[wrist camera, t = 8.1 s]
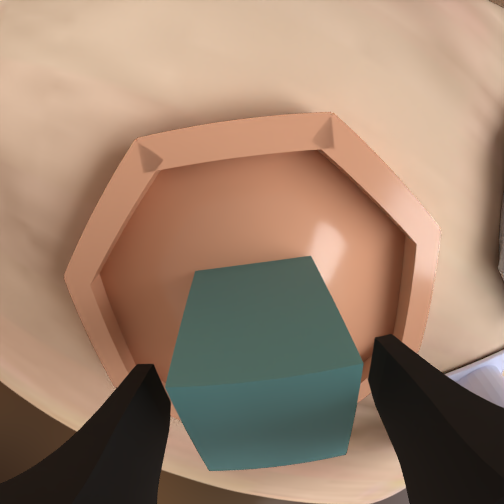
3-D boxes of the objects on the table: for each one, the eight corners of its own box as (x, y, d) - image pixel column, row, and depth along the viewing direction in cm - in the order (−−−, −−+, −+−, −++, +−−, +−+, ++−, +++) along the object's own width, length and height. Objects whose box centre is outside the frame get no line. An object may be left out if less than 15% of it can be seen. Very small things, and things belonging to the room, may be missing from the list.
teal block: (313, 344, 13) (346, 454, 8) (216, 356, 14) (208, 470, 8) (310, 255, 12) (363, 363, 6) (195, 270, 12) (165, 387, 6)
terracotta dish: (392, 384, 16) (402, 404, 15) (150, 413, 16) (145, 435, 15) (418, 115, 10) (443, 115, 9) (57, 162, 10) (33, 169, 9)
